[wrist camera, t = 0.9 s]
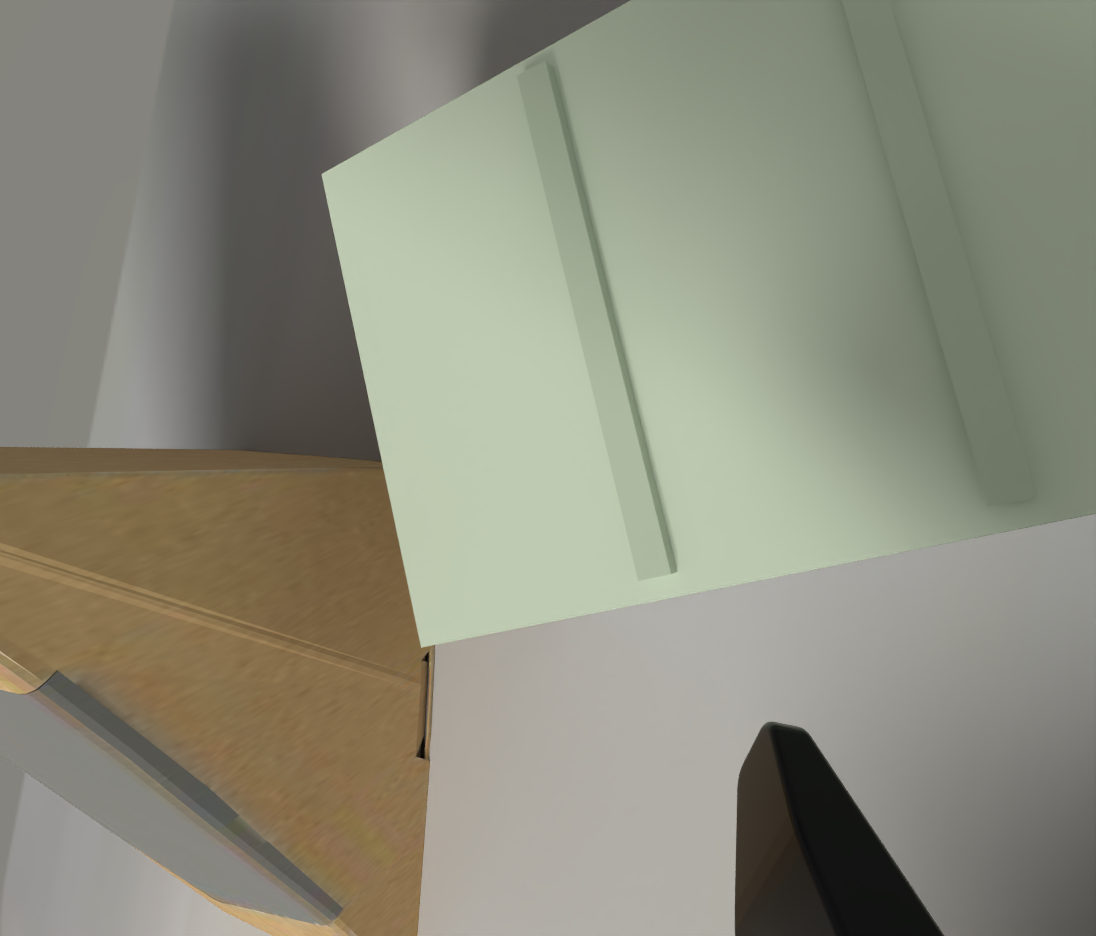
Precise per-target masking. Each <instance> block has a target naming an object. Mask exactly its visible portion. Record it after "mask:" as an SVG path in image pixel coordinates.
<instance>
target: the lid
mask: <svg viewBox="0 0 1096 936" xmlns="http://www.w3.org/2000/svg"><path fill="white" fill-rule="evenodd" d="M322 179H323V184H324V189H325V193H326V198H327V203H328V208H329V212H330V217H331V222H332V227H333V231H334V236H335V241H336V246H337V250H338V255H339V260H340V265H341V269H342V274H343V279H344V284H345V288H346V293H347V298H348V303H349V307H350V312H351V317H352V322H353V326H354V331H355V336H356V341H357V345H358V350H359V355H360V360H361V364H362V369H363V374H364V379H365V383H366V388H367V393H368V398H369V402H370V407H371V412H372V417H373V421H374V426H375V431H376V436H377V440H378V445H379V450H380V455H381V459H382V464H383V469H384V474H385V478H386V483H387V488H388V493H389V497H390V502H391V507H392V512H393V516H394V521H395V526H396V531H397V535H398V540H399V545H400V550H401V554H402V559H403V564H404V569H405V573H406V578H407V583H408V588H409V592H410V597H411V602H412V607H413V611H414V616H415V621H416V626H417V630H418V635H419V640H420V645H421V648H422V647H427V646H432V645H437V644H442V643H447V642H452V641H457V640H462V639H467V638H472V637H477V636H482V635H487V634H492V633H497V632H502V631H507V630H512V629H517V628H522V627H528V626H533V625H538V624H543V623H548V622H553V621H558V620H563V619H568V618H573V617H578V616H583V615H588V614H593V613H598V612H603V611H608V610H613V609H618V608H623V607H628V606H633V605H638V604H643V603H648V602H654V601H659V600H664V599H669V598H674V597H679V596H684V595H689V594H694V593H699V592H704V591H709V590H714V589H719V588H724V587H729V586H734V585H739V584H744V583H749V582H754V581H759V580H764V579H769V578H774V577H780V576H785V575H790V574H795V573H800V572H805V571H810V570H815V569H820V568H825V567H830V566H835V565H840V564H845V563H850V562H855V561H860V560H865V559H870V558H875V557H880V556H885V555H890V554H895V553H901V552H906V551H911V550H916V549H921V548H926V547H931V546H936V545H941V544H946V543H951V542H956V541H961V540H966V539H971V538H976V537H981V536H986V535H991V534H996V533H1001V532H1006V531H1011V530H1016V529H1021V528H1027V527H1032V526H1037V525H1042V524H1047V523H1052V522H1057V521H1062V520H1067V519H1072V518H1077V517H1082V516H1087V515H1092V514H1096V0H630V1H628V2H626V3H625V4H623V5H621V6H619V7H618V8H616V9H614V10H612V11H610V12H609V13H607V14H605V15H603V16H602V17H600V18H598V19H596V20H594V21H593V22H591V23H589V24H587V25H586V26H584V27H582V28H580V29H578V30H577V31H575V32H573V33H571V34H570V35H568V36H566V37H564V38H562V39H561V40H559V41H557V42H555V43H554V44H552V45H550V46H548V47H546V48H545V49H543V50H541V51H539V52H538V53H536V54H534V55H532V56H530V57H529V58H527V59H525V60H523V61H522V62H520V63H518V64H516V65H514V66H513V67H511V68H509V69H507V70H506V71H504V72H502V73H500V74H498V75H497V76H495V77H493V78H491V79H490V80H488V81H486V82H484V83H482V84H481V85H479V86H477V87H475V88H474V89H472V90H470V91H468V92H466V93H465V94H463V95H461V96H459V97H458V98H456V99H454V100H452V101H450V102H449V103H447V104H445V105H443V106H442V107H440V108H438V109H436V110H434V111H433V112H431V113H429V114H427V115H426V116H424V117H422V118H420V119H418V120H417V121H415V122H413V123H411V124H410V125H408V126H406V127H404V128H402V129H401V130H399V131H397V132H395V133H394V134H392V135H390V136H388V137H386V138H385V139H383V140H381V141H379V142H378V143H376V144H374V145H372V146H370V147H369V148H367V149H365V150H363V151H362V152H360V153H358V154H356V155H354V156H353V157H351V158H349V159H347V160H346V161H344V162H342V163H340V164H338V165H337V166H335V167H333V168H331V169H330V170H328V171H326V172H324V173H322Z"/></svg>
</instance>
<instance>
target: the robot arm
mask: <svg viewBox="0 0 1096 936" xmlns="http://www.w3.org/2000/svg"><path fill="white" fill-rule="evenodd" d="M735 936H944V935H943V933H942V932H941V930H940V929H939V927H938V926H937V924H936V923H935V921H934V920H933V918H932V917H931V915H930V914H929V912H928V911H927V909H926V908H925V906H924V905H923V903H922V902H921V900H920V899H919V897H918V896H917V894H916V893H915V891H914V890H913V888H912V887H911V885H910V884H909V882H908V881H907V879H906V878H905V876H904V875H903V873H902V872H901V870H900V869H899V867H898V866H897V864H896V863H895V861H894V860H893V858H892V857H891V855H890V854H889V852H888V851H887V849H886V848H885V846H884V845H883V843H882V842H881V840H880V839H879V837H878V836H877V834H876V833H875V831H874V830H873V829H872V827H871V826H870V824H869V823H868V821H867V820H866V818H865V817H864V815H863V814H862V812H861V811H860V809H859V808H858V806H857V805H856V803H855V802H854V800H853V799H852V797H851V796H850V794H849V793H848V791H847V790H846V788H845V787H844V785H843V784H842V782H841V781H840V779H839V778H838V776H837V775H836V773H835V772H834V770H833V769H832V767H831V766H830V764H829V763H828V761H827V760H826V758H825V757H824V755H823V754H822V752H821V751H820V749H819V748H818V746H817V745H816V743H815V742H814V740H813V739H812V737H811V736H810V735H809V733H808V732H806V731H805V730H804V729H803V728H800V727H797V726H792V725H787V724H782V723H777V722H768V723H766V724H765V725H763V727H762V728H761V730H760V732H759V734H758V736H757V738H756V740H755V742H754V743H753V745H752V747H751V749H750V751H749V753H748V755H747V757H746V759H745V761H744V763H743V765H742V768H741V771H740V774H739V779H738V789H737V832H736V878H735Z"/></svg>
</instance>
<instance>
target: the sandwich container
mask: <svg viewBox="0 0 1096 936" xmlns="http://www.w3.org/2000/svg"><path fill="white" fill-rule="evenodd" d="M428 652H429V694H428V714H427V734H426V743H425V751H424V759H422V758H421V742H422V740H423V737H424V735H425V718H426V698H427V678H428V662H426V654H427V653H428ZM434 661H435V645H432V646H427V647H422V648H421V645H420V640H419V635H418V630H417V626H416V621H415V616H414V611H413V607H412V602H411V597H410V592H409V588H408V583H407V578H406V573H405V569H404V564H403V559H402V554H401V550H400V545H399V540H398V535H397V531H396V526H395V521H394V516H393V512H392V507H391V502H390V497H389V493H388V488H387V483H386V478H385V474H384V469H383V464H382V461H370V460H358V459H346V458H334V457H322V456H309V455H296V454H283V453H270V452H256V451H243V450H200V449H126V448H40V447H39V448H38V447H37V448H35V447H0V755H1V756H2V757H4V758H5V759H6V760H8V761H9V762H11V763H13V764H14V765H15V766H17V767H18V768H20V769H21V770H23V771H24V772H26V773H27V774H28V775H30V776H31V777H33V778H34V779H36V780H37V781H39V782H40V783H42V784H43V785H44V786H46V787H47V788H49V789H50V790H52V791H53V792H55V793H56V794H58V795H59V796H60V797H62V798H63V799H65V800H66V801H68V802H69V803H71V804H72V805H73V806H75V807H76V808H78V809H79V810H81V811H82V812H84V813H85V814H86V815H88V816H89V817H91V818H92V819H94V820H95V821H97V822H98V823H100V824H101V825H102V826H104V827H105V828H107V829H108V830H110V831H111V832H113V833H114V834H115V835H117V836H118V837H120V838H121V839H123V840H124V841H126V842H127V843H128V844H130V845H131V846H133V847H134V848H135V849H137V850H138V851H140V852H141V853H142V854H144V855H145V856H147V857H148V858H149V859H151V860H152V861H154V862H155V863H157V864H158V865H159V866H161V867H162V868H164V869H165V870H166V871H168V872H169V873H171V874H172V875H173V876H175V877H176V878H178V879H179V880H180V881H182V882H183V883H185V884H186V885H187V886H189V887H190V888H192V889H193V890H194V891H196V892H197V893H199V894H200V895H201V896H203V897H204V898H206V899H207V900H208V901H210V902H211V903H213V904H214V905H215V906H217V907H218V908H220V909H221V910H223V911H224V912H226V913H228V914H230V915H232V916H234V917H236V918H238V919H240V920H242V921H244V922H246V923H248V924H250V925H252V926H254V927H256V928H258V929H260V930H262V931H264V932H266V933H268V934H270V935H272V936H417V933H418V919H419V906H420V892H421V878H422V865H423V851H424V837H425V823H426V810H427V796H428V782H429V769H430V760H429V747H430V738H431V722H432V700H433V681H434Z"/></svg>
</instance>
